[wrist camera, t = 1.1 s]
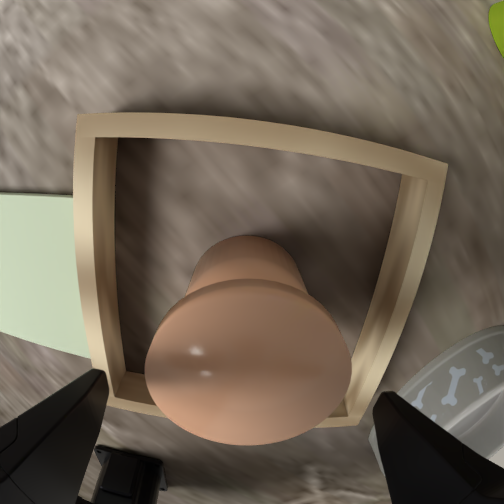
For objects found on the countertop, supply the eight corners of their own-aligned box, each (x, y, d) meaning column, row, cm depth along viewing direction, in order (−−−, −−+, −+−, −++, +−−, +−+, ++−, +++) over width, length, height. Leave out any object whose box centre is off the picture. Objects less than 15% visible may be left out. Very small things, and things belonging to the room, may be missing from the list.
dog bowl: (394, 476, 25) (407, 511, 20) (341, 408, 20) (360, 465, 15) (514, 397, 22) (535, 424, 17) (519, 285, 17) (561, 317, 12)
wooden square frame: (348, 399, 19) (357, 425, 17) (114, 378, 18) (102, 404, 15) (420, 159, 14) (448, 164, 11) (102, 117, 13) (77, 114, 10)
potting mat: (96, 353, 17) (92, 359, 17) (-1, 325, 17) (-5, 329, 16) (81, 195, 14) (75, 198, 13) (-24, 192, 13) (-29, 193, 13)
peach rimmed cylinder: (297, 344, 17) (321, 445, 10) (181, 333, 17) (153, 434, 10) (321, 233, 15) (379, 307, 8) (185, 218, 14) (138, 284, 8)
